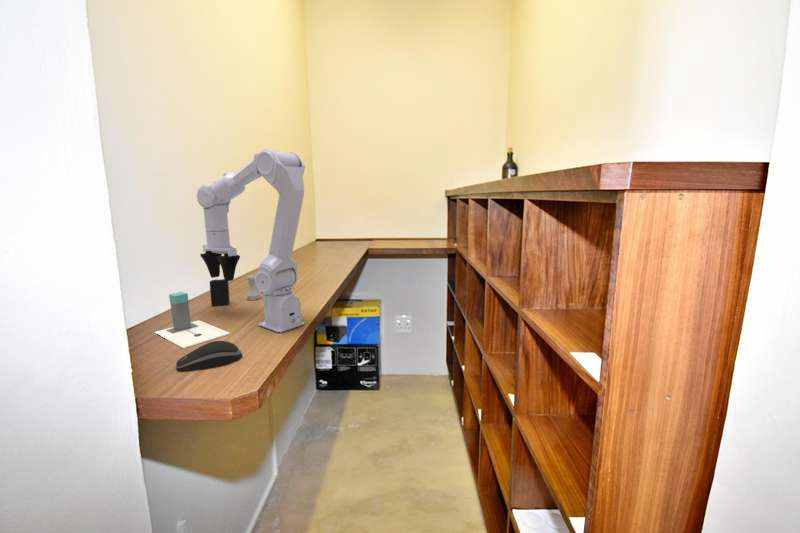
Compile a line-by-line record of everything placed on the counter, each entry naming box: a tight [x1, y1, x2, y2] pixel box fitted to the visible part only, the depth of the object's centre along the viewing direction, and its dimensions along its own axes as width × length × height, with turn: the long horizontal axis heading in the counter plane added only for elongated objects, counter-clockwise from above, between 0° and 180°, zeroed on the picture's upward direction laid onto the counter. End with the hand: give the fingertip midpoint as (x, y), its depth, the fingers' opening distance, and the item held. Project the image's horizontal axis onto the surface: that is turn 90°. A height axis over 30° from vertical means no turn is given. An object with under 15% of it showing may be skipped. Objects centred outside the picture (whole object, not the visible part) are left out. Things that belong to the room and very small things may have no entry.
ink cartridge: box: [209, 278, 231, 307], centre depth 117 cm, size 5×2×8 cm, turn 106°
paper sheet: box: [153, 319, 231, 350], centre depth 94 cm, size 16×11×1 cm
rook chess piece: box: [246, 273, 262, 301], centre depth 124 cm, size 4×4×8 cm
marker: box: [168, 291, 192, 331], centre depth 96 cm, size 3×3×9 cm
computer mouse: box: [175, 340, 243, 373], centre depth 78 cm, size 7×12×4 cm, turn 120°
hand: (222, 278), depth 107 cm, fingers open, 7 cm apart
